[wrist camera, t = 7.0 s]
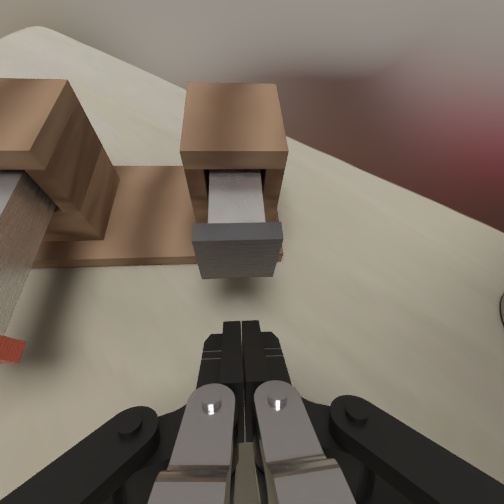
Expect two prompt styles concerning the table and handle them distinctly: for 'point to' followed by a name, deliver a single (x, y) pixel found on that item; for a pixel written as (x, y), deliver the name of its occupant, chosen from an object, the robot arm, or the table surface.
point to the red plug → (18, 245)
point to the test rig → (136, 170)
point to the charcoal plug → (236, 228)
